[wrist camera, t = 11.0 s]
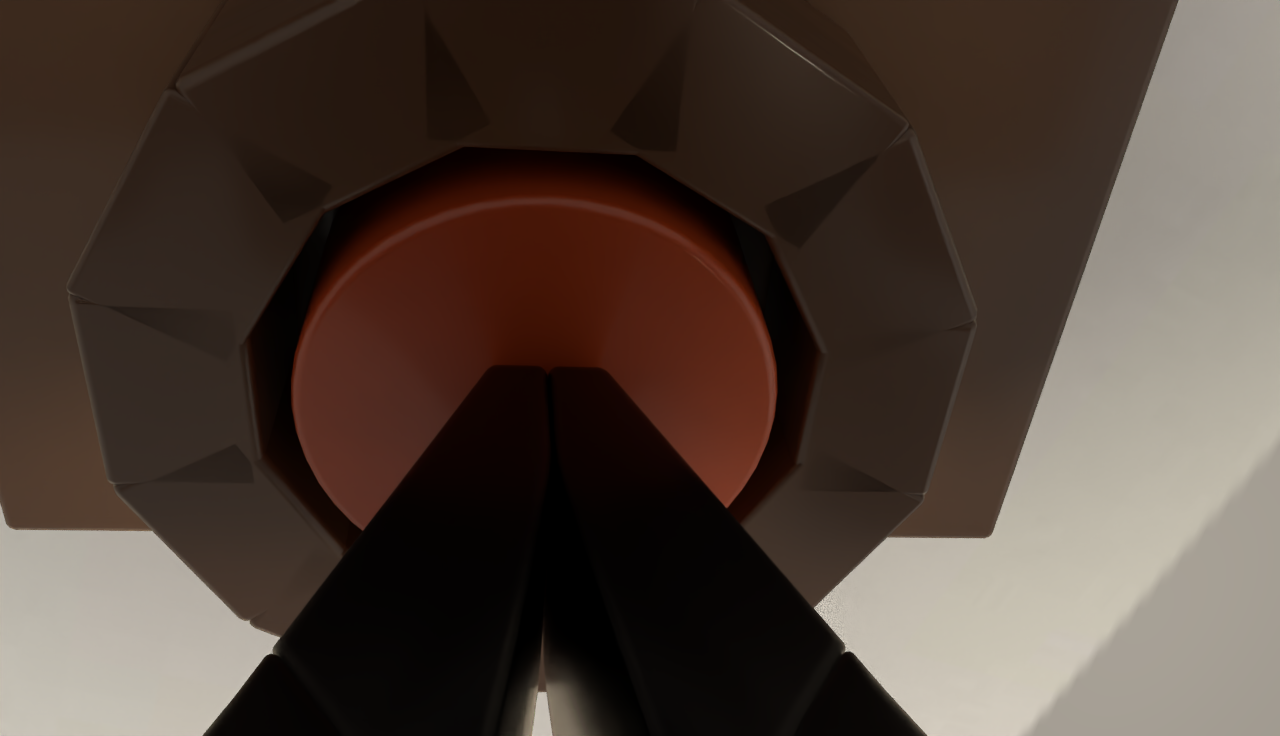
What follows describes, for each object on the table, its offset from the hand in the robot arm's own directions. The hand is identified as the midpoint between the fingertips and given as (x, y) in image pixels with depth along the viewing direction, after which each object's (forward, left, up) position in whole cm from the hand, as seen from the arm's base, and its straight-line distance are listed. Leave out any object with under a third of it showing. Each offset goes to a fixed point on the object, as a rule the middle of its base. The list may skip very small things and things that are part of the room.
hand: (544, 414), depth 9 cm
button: (0, 0, -2) cm, 2 cm away
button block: (0, -1, -4) cm, 4 cm away
